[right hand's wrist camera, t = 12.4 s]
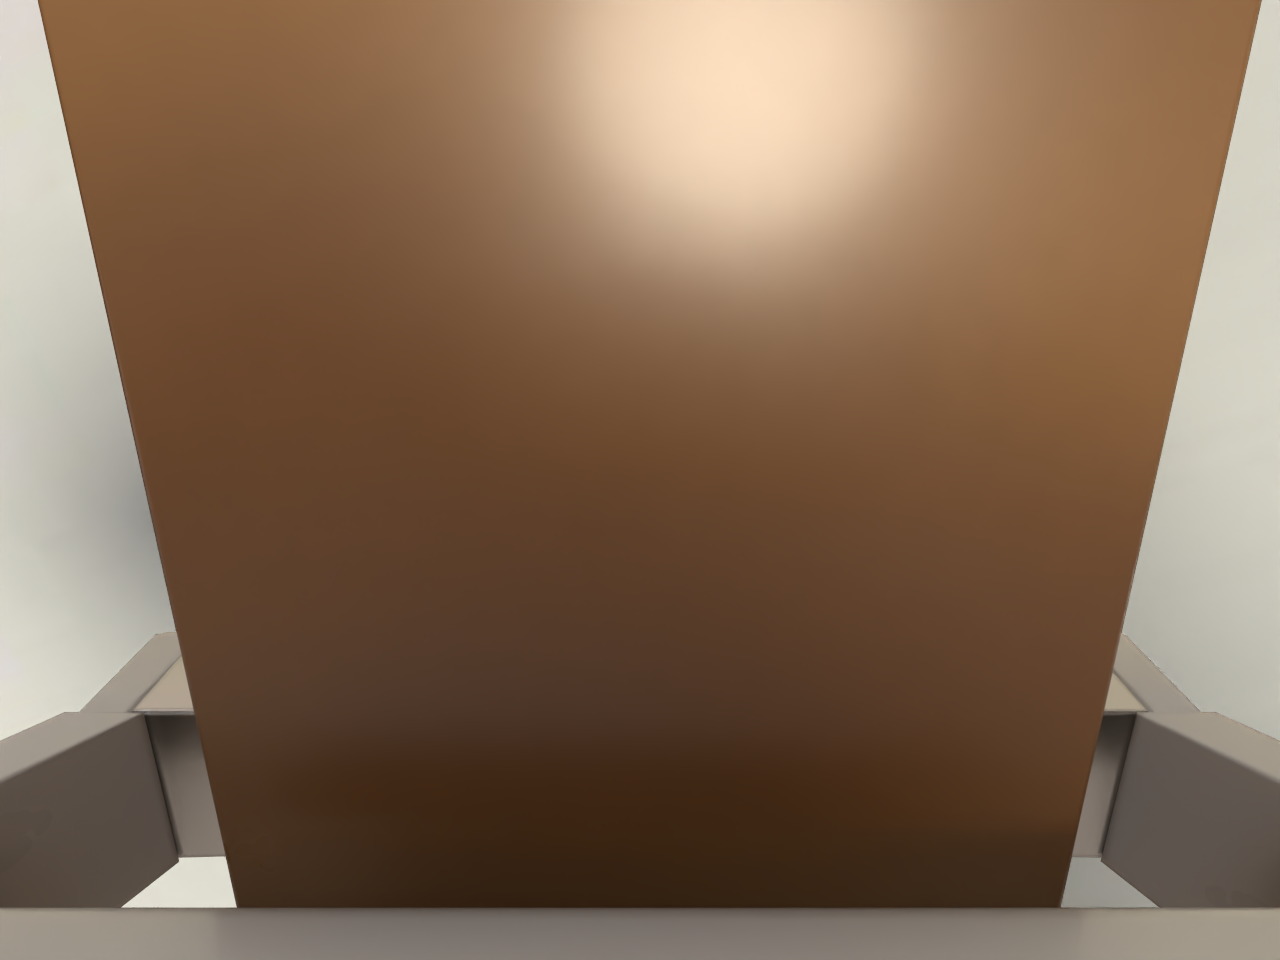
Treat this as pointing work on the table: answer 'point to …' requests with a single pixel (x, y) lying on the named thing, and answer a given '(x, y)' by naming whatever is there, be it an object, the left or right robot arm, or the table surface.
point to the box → (649, 424)
